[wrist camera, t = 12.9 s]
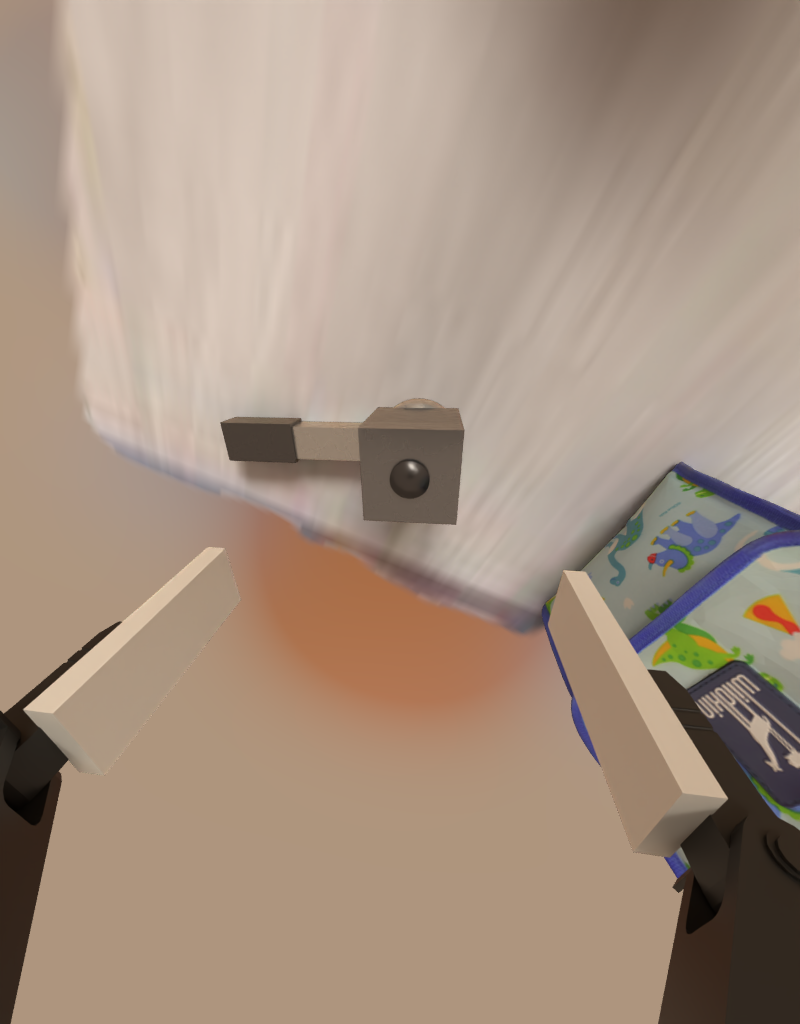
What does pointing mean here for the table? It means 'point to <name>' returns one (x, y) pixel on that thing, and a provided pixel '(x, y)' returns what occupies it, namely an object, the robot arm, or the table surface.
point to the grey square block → (411, 464)
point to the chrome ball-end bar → (297, 437)
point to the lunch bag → (714, 619)
